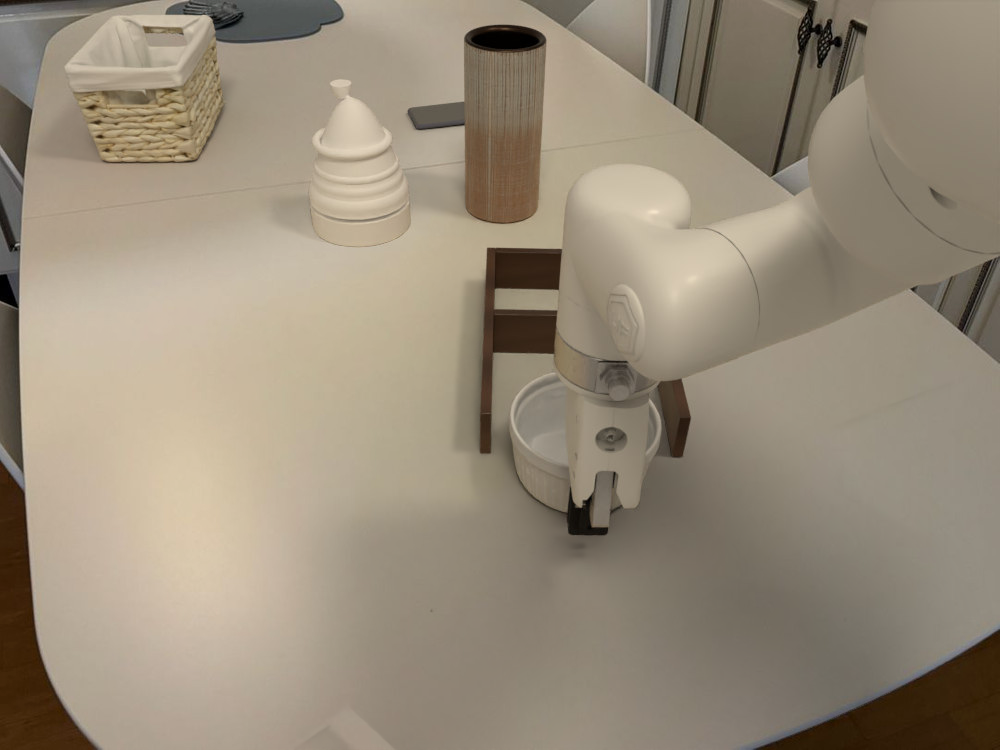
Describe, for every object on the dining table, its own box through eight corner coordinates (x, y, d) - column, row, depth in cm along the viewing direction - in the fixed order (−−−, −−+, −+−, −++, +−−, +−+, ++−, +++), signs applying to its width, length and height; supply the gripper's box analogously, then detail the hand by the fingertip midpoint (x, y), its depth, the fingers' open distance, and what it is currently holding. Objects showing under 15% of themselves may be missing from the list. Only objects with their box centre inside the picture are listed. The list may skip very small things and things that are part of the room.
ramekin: (679, 470, 79) (692, 413, 74) (593, 554, 71) (601, 496, 66) (566, 405, 85) (571, 350, 81) (476, 475, 78) (477, 418, 73)
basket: (201, 167, 125) (178, 66, 116) (87, 168, 124) (56, 66, 115) (232, 104, 143) (215, 13, 134) (134, 104, 143) (110, 12, 133)
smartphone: (406, 107, 141) (493, 97, 145) (407, 113, 142) (493, 103, 145) (416, 125, 136) (506, 114, 139) (417, 131, 136) (506, 120, 140)
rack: (682, 457, 80) (691, 417, 77) (479, 453, 80) (480, 413, 77) (644, 286, 102) (650, 250, 99) (486, 283, 102) (486, 247, 99)
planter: (551, 215, 116) (561, 43, 101) (484, 230, 112) (485, 55, 98) (517, 184, 123) (523, 20, 108) (453, 197, 119) (450, 29, 105)
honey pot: (294, 218, 114) (274, 84, 102) (374, 190, 120) (364, 61, 109) (347, 257, 106) (332, 118, 95) (430, 225, 113) (425, 91, 101)
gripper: (684, 424, 52) (645, 606, 64) (649, 288, 63) (622, 462, 75) (561, 423, 52) (544, 605, 63) (549, 286, 63) (537, 461, 75)
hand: (586, 527), depth 69 cm, fingers closed
